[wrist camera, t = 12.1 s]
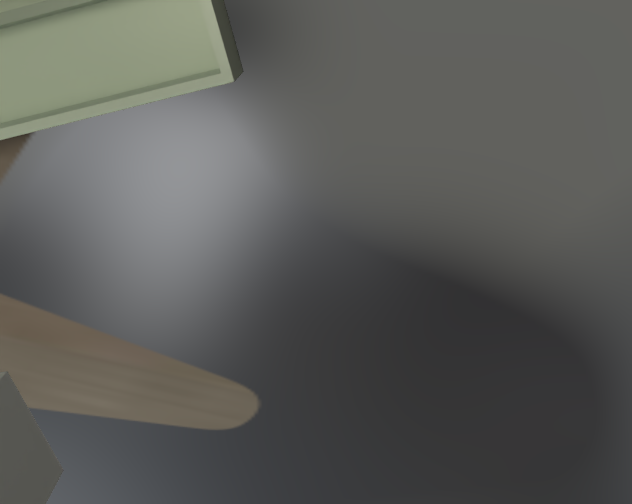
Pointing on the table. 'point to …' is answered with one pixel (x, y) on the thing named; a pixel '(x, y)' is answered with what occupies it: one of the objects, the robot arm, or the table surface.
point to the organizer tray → (106, 57)
